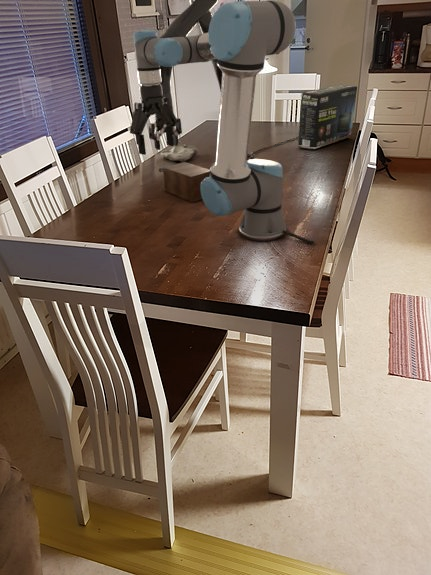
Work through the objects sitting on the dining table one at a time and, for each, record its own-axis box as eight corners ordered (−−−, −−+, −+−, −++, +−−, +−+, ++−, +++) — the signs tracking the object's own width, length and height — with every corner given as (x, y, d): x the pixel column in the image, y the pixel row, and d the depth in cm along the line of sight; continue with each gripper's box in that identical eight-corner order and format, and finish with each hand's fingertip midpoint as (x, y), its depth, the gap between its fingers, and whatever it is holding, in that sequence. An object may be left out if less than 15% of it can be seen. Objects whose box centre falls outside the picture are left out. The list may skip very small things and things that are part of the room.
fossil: (184, 156, 217) (163, 136, 220) (174, 174, 223) (154, 154, 227) (205, 153, 231) (186, 134, 234) (195, 171, 237) (176, 152, 240)
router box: (314, 151, 231) (318, 94, 217) (296, 148, 237) (299, 92, 224) (352, 138, 251) (358, 85, 238) (335, 135, 258) (340, 83, 245)
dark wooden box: (166, 191, 187) (163, 167, 182) (186, 185, 193) (185, 161, 188) (192, 202, 176) (190, 176, 170) (213, 195, 181) (212, 170, 176)
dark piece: (156, 184, 192) (154, 165, 188) (174, 179, 197) (173, 161, 193) (188, 197, 177) (187, 177, 173) (207, 191, 182) (206, 172, 178)
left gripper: (172, 101, 183) (175, 142, 191) (142, 106, 175) (147, 149, 183) (183, 103, 178) (186, 145, 186) (153, 108, 170) (157, 152, 178)
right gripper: (168, 79, 160) (173, 140, 171) (113, 88, 144) (122, 156, 155) (184, 80, 156) (188, 143, 167) (128, 90, 140) (137, 159, 151)
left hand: (167, 147), depth 185 cm, fingers open, 8 cm apart
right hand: (156, 149), depth 161 cm, fingers open, 13 cm apart
